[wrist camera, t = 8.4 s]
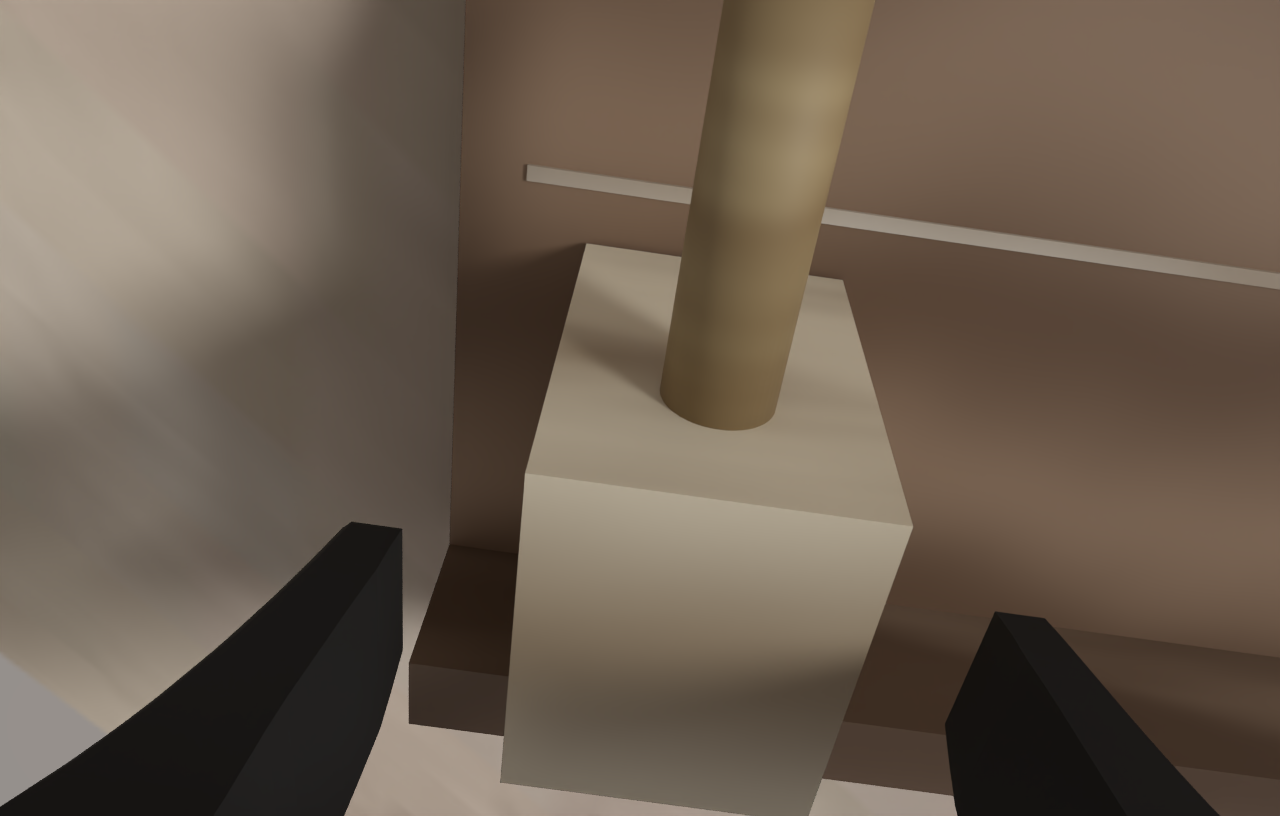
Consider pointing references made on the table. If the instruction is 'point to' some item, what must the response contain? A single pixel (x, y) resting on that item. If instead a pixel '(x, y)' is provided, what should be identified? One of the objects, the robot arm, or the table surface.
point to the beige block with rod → (712, 469)
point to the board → (938, 340)
